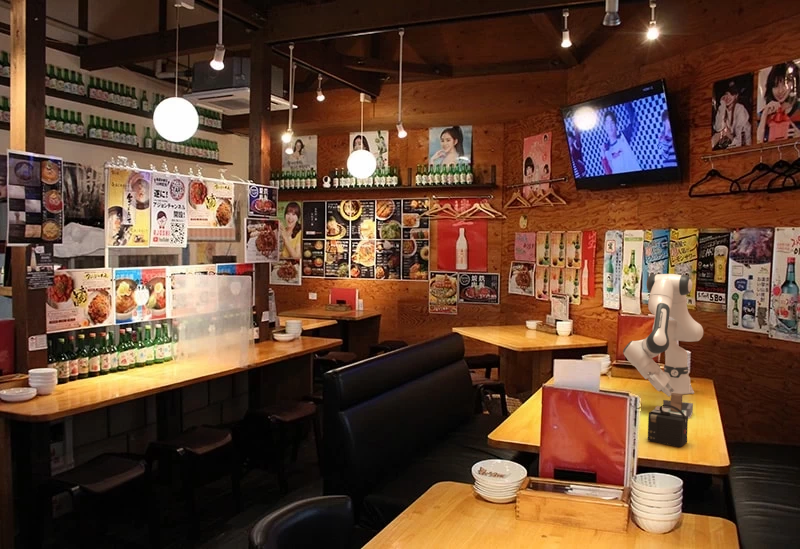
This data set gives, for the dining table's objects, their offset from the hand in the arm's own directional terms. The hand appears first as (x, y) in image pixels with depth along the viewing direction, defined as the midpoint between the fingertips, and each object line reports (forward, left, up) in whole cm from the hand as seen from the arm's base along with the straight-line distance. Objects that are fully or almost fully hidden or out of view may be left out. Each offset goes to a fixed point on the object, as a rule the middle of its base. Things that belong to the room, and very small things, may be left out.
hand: (671, 393), depth 303 cm
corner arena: (0, +1, -9) cm, 9 cm away
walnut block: (0, +2, -8) cm, 8 cm away
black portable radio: (+50, +5, -10) cm, 51 cm away
